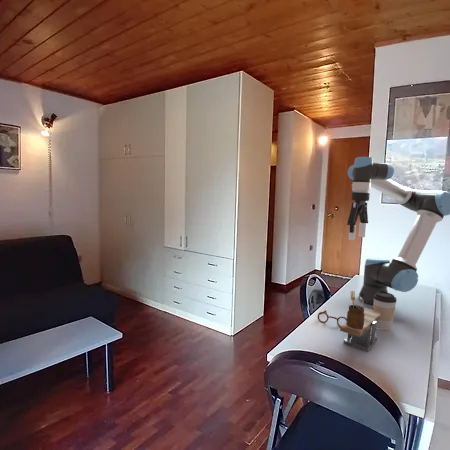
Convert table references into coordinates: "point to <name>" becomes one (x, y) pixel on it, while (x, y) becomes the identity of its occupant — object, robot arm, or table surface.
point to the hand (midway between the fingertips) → (356, 238)
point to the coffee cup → (384, 309)
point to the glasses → (329, 317)
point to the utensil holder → (355, 315)
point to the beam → (369, 319)
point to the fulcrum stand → (363, 339)
